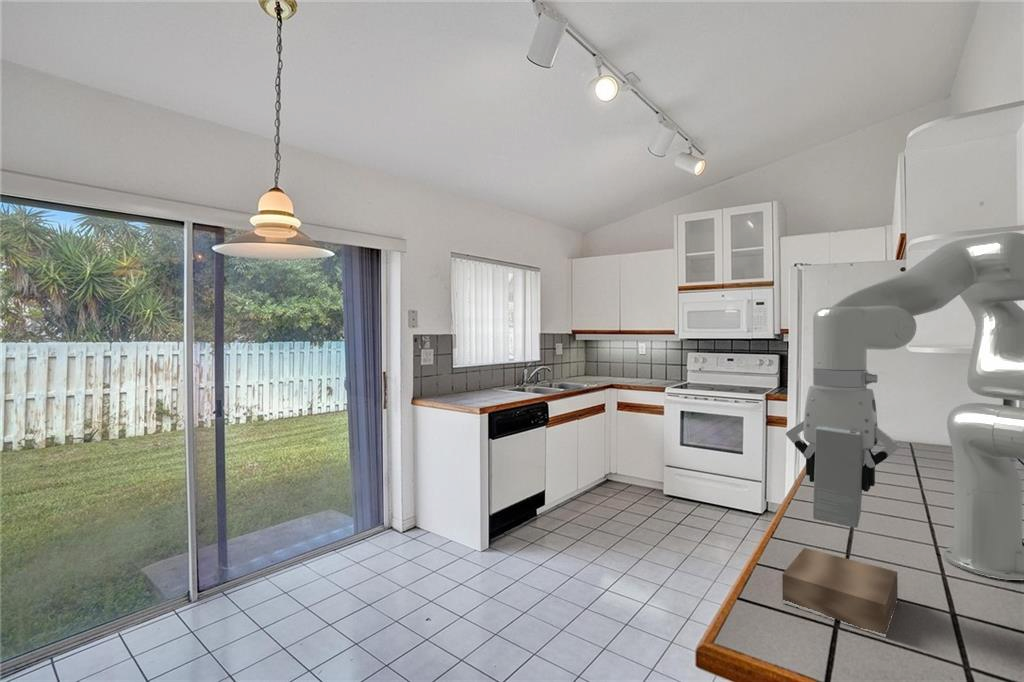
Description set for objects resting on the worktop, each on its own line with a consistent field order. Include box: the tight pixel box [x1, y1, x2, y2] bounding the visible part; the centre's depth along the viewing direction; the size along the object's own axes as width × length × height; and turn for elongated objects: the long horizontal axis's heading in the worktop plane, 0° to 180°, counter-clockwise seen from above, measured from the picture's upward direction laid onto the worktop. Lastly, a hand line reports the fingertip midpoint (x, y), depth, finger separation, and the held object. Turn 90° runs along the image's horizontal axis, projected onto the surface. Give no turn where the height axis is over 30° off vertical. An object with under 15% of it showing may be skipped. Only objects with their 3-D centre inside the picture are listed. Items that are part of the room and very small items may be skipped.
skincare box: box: [812, 427, 864, 529], centre depth 83 cm, size 8×7×16 cm
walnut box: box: [781, 547, 899, 634], centre depth 83 cm, size 14×14×5 cm
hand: (839, 484), depth 83 cm, fingers closed on skincare box, 6 cm apart
